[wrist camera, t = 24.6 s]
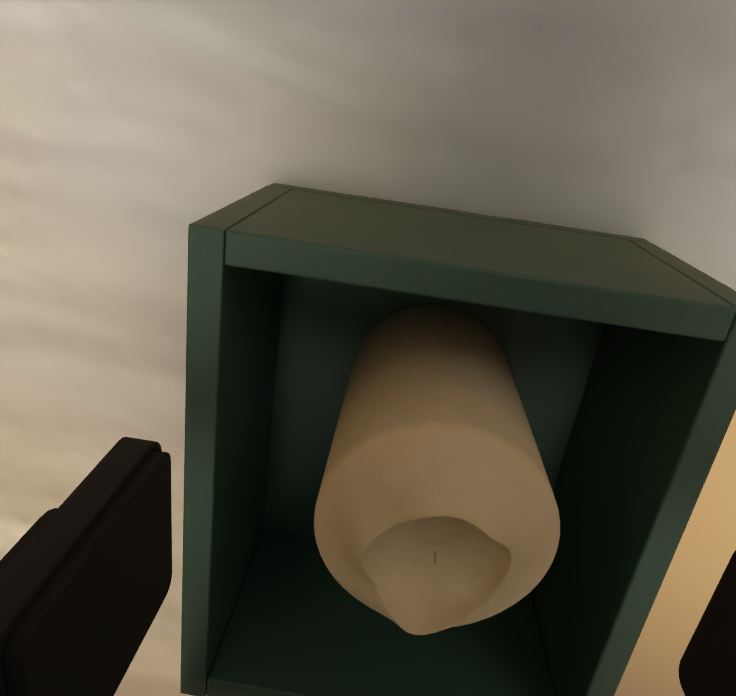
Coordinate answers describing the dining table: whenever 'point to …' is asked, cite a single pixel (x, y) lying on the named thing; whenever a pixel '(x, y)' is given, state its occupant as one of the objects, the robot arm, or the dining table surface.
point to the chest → (540, 402)
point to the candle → (435, 477)
